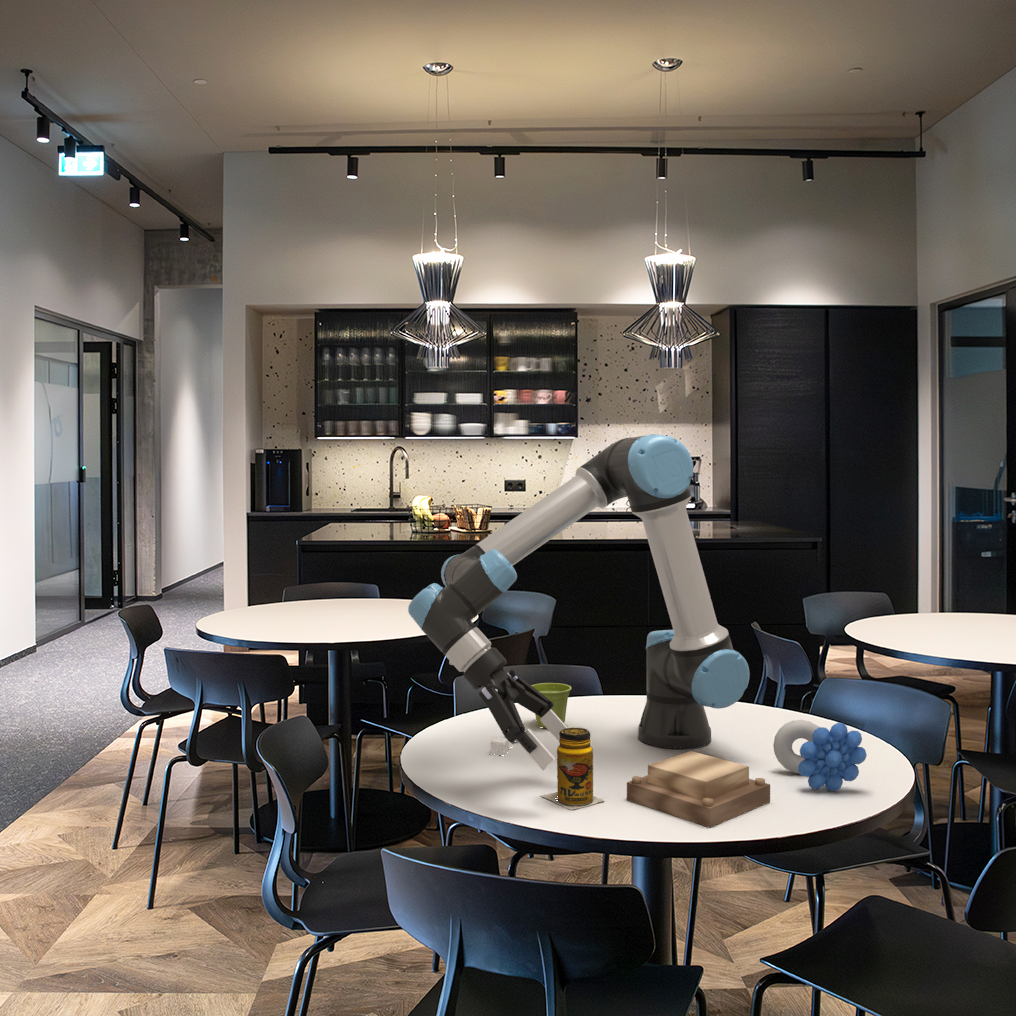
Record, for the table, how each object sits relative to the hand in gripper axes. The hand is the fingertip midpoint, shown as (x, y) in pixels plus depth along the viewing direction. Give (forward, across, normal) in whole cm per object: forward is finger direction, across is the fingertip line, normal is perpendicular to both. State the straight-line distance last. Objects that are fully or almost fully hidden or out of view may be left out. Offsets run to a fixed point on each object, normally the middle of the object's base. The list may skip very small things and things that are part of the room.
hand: (560, 753), depth 156 cm
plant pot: (-4, -44, -16) cm, 47 cm away
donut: (+33, -27, +22) cm, 48 cm away
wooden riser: (+21, -6, +10) cm, 25 cm away
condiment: (+7, -1, -4) cm, 8 cm away
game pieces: (-7, -26, -19) cm, 33 cm away
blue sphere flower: (+37, -19, +25) cm, 49 cm away
